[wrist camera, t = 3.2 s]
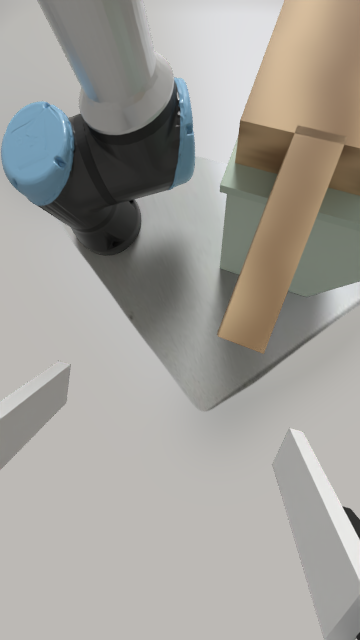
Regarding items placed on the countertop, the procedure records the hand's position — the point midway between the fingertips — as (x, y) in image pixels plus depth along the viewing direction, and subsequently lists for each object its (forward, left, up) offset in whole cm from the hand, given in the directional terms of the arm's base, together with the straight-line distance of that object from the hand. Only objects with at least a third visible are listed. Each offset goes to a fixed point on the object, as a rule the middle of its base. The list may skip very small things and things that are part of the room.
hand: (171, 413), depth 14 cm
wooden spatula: (+2, +17, -6) cm, 18 cm away
